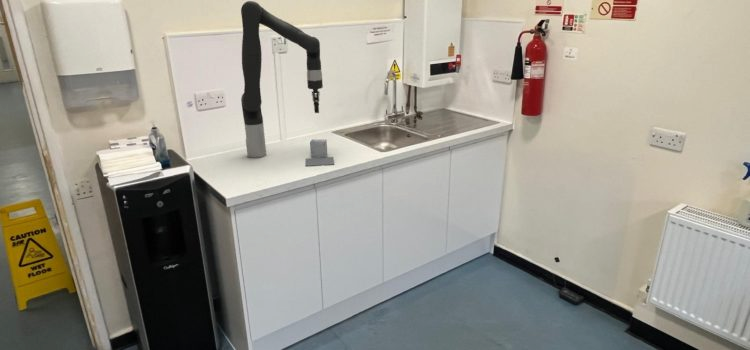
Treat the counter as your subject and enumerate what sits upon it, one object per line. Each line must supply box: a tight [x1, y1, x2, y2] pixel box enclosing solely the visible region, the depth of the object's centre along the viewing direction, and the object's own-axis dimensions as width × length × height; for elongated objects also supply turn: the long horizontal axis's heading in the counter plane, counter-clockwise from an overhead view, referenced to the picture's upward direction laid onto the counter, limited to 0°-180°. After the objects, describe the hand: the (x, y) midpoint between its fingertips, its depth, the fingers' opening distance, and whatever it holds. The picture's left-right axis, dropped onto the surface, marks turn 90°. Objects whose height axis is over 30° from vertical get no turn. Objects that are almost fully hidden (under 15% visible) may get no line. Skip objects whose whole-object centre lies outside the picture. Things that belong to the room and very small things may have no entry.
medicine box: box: [309, 138, 328, 158], centre depth 236 cm, size 8×4×9 cm, turn 86°
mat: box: [304, 156, 335, 167], centre depth 229 cm, size 14×11×1 cm
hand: (316, 111), depth 237 cm, fingers open, 7 cm apart
